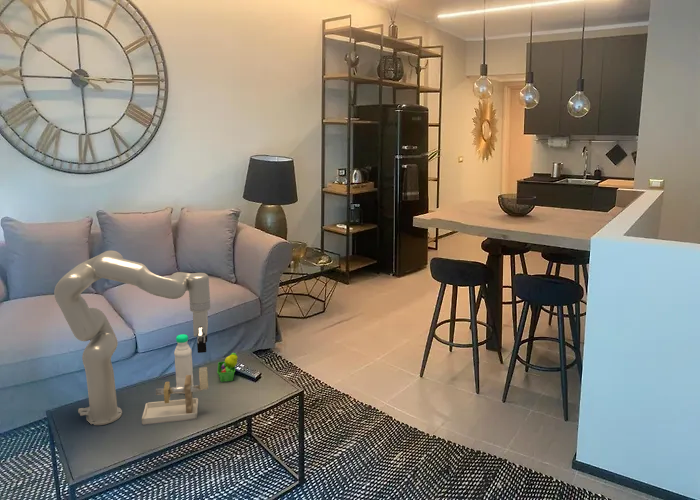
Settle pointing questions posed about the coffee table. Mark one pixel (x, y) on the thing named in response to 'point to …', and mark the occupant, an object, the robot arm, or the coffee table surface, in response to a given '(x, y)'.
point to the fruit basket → (227, 368)
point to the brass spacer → (166, 392)
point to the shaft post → (188, 394)
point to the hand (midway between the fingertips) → (202, 347)
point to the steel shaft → (203, 385)
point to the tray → (168, 411)
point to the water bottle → (183, 360)
